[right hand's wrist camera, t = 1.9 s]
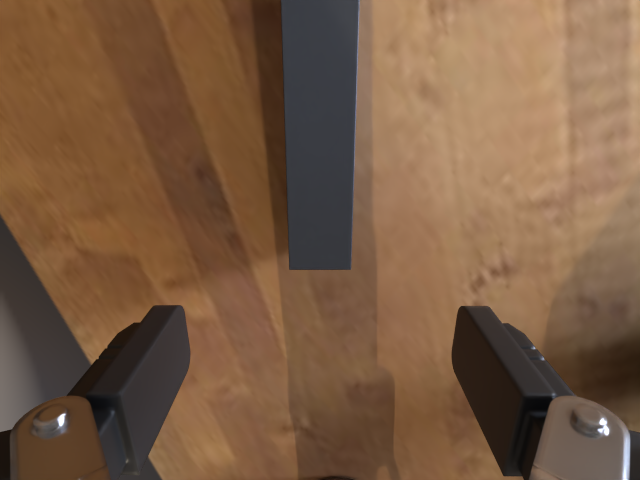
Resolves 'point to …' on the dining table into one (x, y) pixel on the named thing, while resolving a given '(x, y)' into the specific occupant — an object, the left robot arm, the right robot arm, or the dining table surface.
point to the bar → (320, 129)
